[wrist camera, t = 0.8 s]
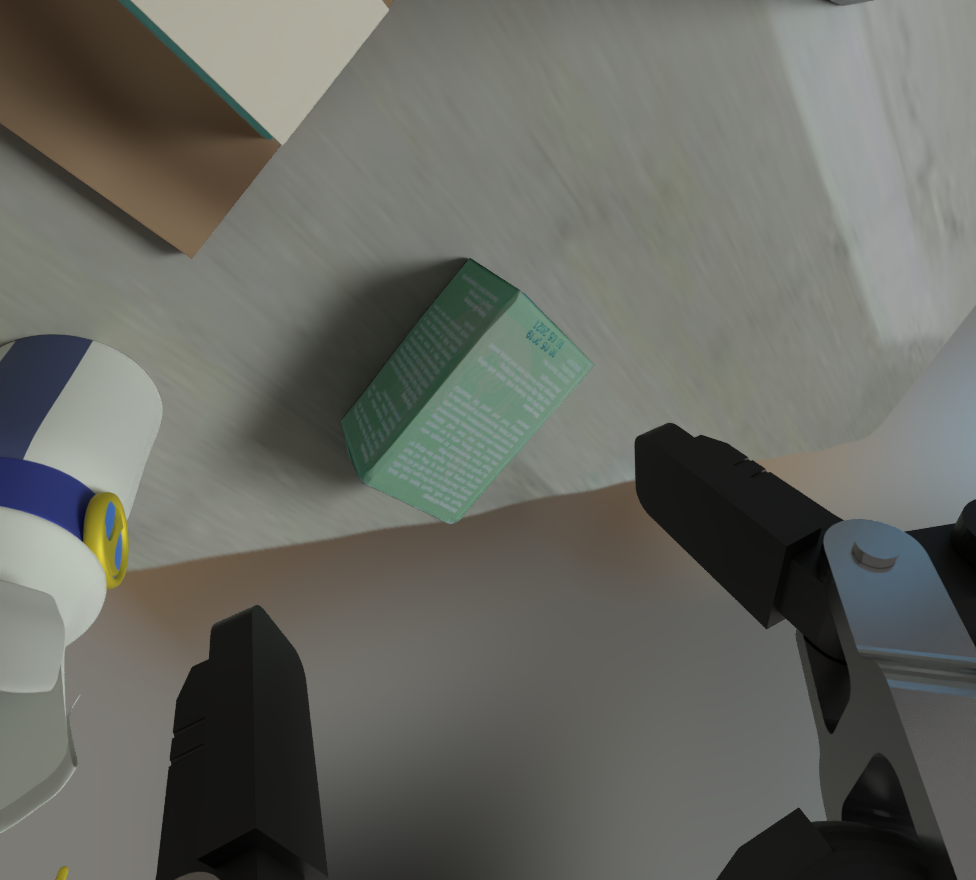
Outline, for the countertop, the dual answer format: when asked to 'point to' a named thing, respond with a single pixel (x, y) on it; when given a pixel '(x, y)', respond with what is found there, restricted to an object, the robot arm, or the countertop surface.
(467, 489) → the box
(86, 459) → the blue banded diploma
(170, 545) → the countertop surface
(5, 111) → the board
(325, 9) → the carton
